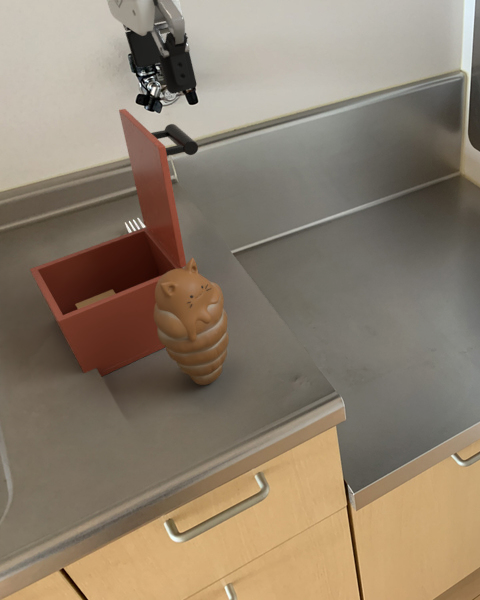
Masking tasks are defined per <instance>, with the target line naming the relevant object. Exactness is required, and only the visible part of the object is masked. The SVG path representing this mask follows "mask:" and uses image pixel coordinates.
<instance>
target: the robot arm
mask: <svg viewBox="0 0 480 600" xmlns="http://www.w3.org/2000/svg"><path fill="white" fill-rule="evenodd" d="M106 1H107V5H108V8H109V12H110V14H111V15H112V17H113V18H114V19H115V20H117V21H118V22H119V23H121V24H122V26H123V29H124V30H125V36H126V40H127V43H128V46H129V50H130V53H131V57H132V60H133V64H134V66H135V67H137V68H138V69H140V68H145V67H149V66H153V65H158V64H159V65H160V68H161V72H162V75H163V79H164V84H165V86H166V87H165V88H166V90H167V92H168V93H170V94H177V93H181V92H185V91H189V90H192V89H194V88H196V87H197V79H196V75H195V71H194V67H193V63H192V58H191V54H190V53H191V52H190V50H191V49H190V46H189V43H188V38H189V37H188V36H187V33H186V27H185V25H186V22H185V18H184V16H183V11H182V6H181V0H106ZM163 34H166V36H165V39H164V37H163Z"/></svg>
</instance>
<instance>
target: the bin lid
mask: <svg viewBox="0 0 480 600" xmlns="http://www.w3.org/2000/svg"><path fill="white" fill-rule="evenodd" d="M118 112H119V118H120V122H121V126H122V131H123V135H124V141H125V144H126V148H127V153H128V158H129V163H130V167H131V173H132V176H133V180H134V181H133V182H134V185H135V189H136V194H137V199H138V203H139V207H140V213H141V216H142V223H143V224H144V225H145V227H147V228H148V229H149V230H150V232H151V233H152V234H153V235H154V236H155V238H156V239H157V240H158V241H159V242H160V244H161V245H162V246H163V247H164V248H165V249H166V251H167V252H168V253H169V254H170V255H171V257H172V258H173V259H174V260H175V261H176V262H177V264H178V265H179V266H180V267H181V268H182V267H183V268H185V266H186V264H187V260H186V254H185V250H184V244H183V243H184V242H183V238H182V233H181V227H180V221H179V216H178V209H177V205H176V199H175V194H174V189H173V182H172V177H171V171H170V165H169V161H168V156H173V155H176V154H177V155H178V154H180V153H185V154H186V155H188V156H194V155H195V154H197V152H198V150H199V145H198V143H197V141H195V140H194V139H193V138H191V136H189V135H188V134H187V133H186V132H185V131H184V130H182V129H181V128H180V127H179V126H177V125H176V124H174V123H170V124H167V125H166V126H165V128H164V129H163V130H158V131H154V132H151V131H150V130H148V129H147V128H146V127H145V126H144V125H143V124H142V123H141V122H140V121H139V120H137V118H136V117H134V115H132V114H131V112H129V111H128V110H127V109H126V108H122V109H119V110H118ZM165 138H168V139H169V140H170V141H171V142H172V143H174V144H175V145H173V146H169V147H166V146H165V144H164V143H162V142H161V141H160V140H161V139H165ZM159 139H160V140H159Z"/></svg>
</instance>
